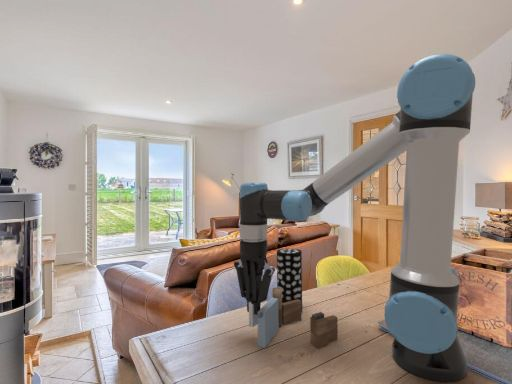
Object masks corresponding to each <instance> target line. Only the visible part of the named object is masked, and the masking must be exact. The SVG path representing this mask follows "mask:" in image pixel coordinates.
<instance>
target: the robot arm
mask: <svg viewBox="0 0 512 384" xmlns="http://www.w3.org/2000/svg"><path fill="white" fill-rule="evenodd" d="M475 87H476V75H475V73H474V72H473V70H472V67H471V66H470V64H469V63H468V62H467V61H466V60H464V58H462V57H460V56H458V55H455V54H450V53H438V54H437V53H436V54H432V55H428V56H426V57H423V58H421V59H419V60H417V61H415V63H413V64H412V65H411V66H410V67H409V68H407V70H405V72H404V73H403V75H402V76H401V77H400V80H399V83H398V86H397V92H396V98H397V103H398V105H399V107H400V111H398V112H397V113H396V114H394V115H393V118H392V120H391V121H392V122H390V123H389V124H388V125H387V126H385V127H383V129H381V130H380V131H379V132H377V133H376V134H375V135H374V136H372V137H370V138H369V139H368V140H366V141H365V142H364V143H362V144H361V145H360V146H359V147H357V148H356V149H355V150H353V151H352V152H351V153H349V154H348V155H346V156H345V157H344V158H343V159H341V160H339V162H337V163H336V164H335V165H333V166H332V167H331V168H330V169H328V170H326V172H324V173H322V175H320V176H319V177H318V178H316V179H315V180H314V181H312V183H309V184H308V185H307V186H306V187H305V188H303V189H290V190H289V189H286V190H285V189H284V190H282V189H281V190H280V189H278V190H277V189H276V190H272V189H269V188H268V183H266V182H243V183H241V184H240V187H239V198H238V200H239V216H240V217H239V218H240V219H239V238H240V240H239V253H240V255H241V256H240V259H239V260H237V261H234V262H233V266H234V268H235V270H236V274H237V280H238V281H237V282H238V287H239V293H240V297H242V298H244V299H245V300H246V311H247V313H248V326H249V327H251V328H254V327H255V326H258V311H259V310H260V309H261V308H262V307H261V303H263V302H265V301H268V295H269V291H270V287H271V281H272V277H273V274H274V273H275V271H276V268H275V267H271V266H270V265H269V264H268V259H267V255H268V240H267V238H268V219H269V220H270V219H271V220H272V219H273V220H279V221H280V220H281V221H290V222H304V221H307V220H308V219H309V217H313V216H316V215H317V214H320V213H321V212H323V211H324V210H325V208H326V206H328V205H329V204H331V203H332V202H333V201H335V200H336V199H338V198H339V197H341V196H342V195H344V194H345V193H347V192H349V191H350V190H351V189H353V188H354V187H355V186H357V185H358V184H360V183H361V182H363V181H364V180H366V179H367V178H369V177H371V176H372V175H373V174H374V173H376V172H378V171H379V170H380V169H382V168H383V167H385V166H386V165H388V164H389V163H390V162H392V161H393V160H395V159H397V158H398V157H399V156H401V155H402V154H404V153H405V152H406V155H405V157H406V158H405V169H404V171H405V172H404V173H405V174H404V188H403V189H404V191H403V202H402V203H403V204H402V205H403V206H402V221H401V239H400V252H399V253H400V254H399V263H397V264H396V265H394V266H393V267H392V268H391V269H390V270H391V271H390V280H389V281H390V284H389V297H388V300H387V301H386V303H385V306H384V315H383V316H384V321H385V325H386V327H387V329H388V331H389V333H390V334H391V335H392V337H394V339H393V341H392V346H391V351H392V352H391V355H392V358H393V360H394V361H395V363H396V364H397V365H398V366H400V367H401V368H403V369H404V370H405V371H407V372H410V374H413V375H415V376H417V377H421V378H423V379H426V380H427V379H428V380H432V381H436V382H446V383H447V382H456V381H460V380H462V379H464V378H465V377H466V376H467V373H468V372H467V370H468V367H467V366H468V365H467V359H466V356H465V353H464V350H463V348H462V344H461V342H460V339H459V337H458V334H459V333H458V332H459V324H458V312H459V311H458V310H459V309H458V308H459V296H460V295H459V294H460V279H459V278H458V276H457V271H456V269H455V268H454V267H452V266H451V265H452V250H453V240H454V239H453V237H454V224H455V223H454V222H455V209H456V208H455V207H456V193H457V180H458V178H457V177H458V165H459V163H458V162H459V150H460V149H459V148H460V142H461V141H462V140H463V139H465V138H466V137H467V135H469V134H470V132H471V124H472V123H471V122H472V121H471V120H472V108H473V95H474V94H473V93H474V91H475Z"/></svg>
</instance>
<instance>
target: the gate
mask: <svg viewBox="0 0 512 384" xmlns="http://www.w3.org/2000/svg"><path fill="white" fill-rule="evenodd" d="M279 329H280V328H279V316H278V298H273V297H271V298H270V299H269V300H267V302H266V303H265V304H264V305H263V306H262V307H261V309H260V310H259V311H258V324H257V347H259V348H264V349H266V348H267V346H268V345H269V344H270V342H271V340H272V339H273V338H274V336H276V334H277V332H278V331H279Z"/></svg>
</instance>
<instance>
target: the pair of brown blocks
mask: <svg viewBox="0 0 512 384" xmlns="http://www.w3.org/2000/svg"><path fill="white" fill-rule="evenodd" d="M272 298H278V316H279V329H280V328H282V327H283V326H286V325H289V324H293V323H296V322H300V321H302V312H301V300H299V299H296V300H293V301H289V302H285V303H282V289H281V288H277V287H273V288H272ZM309 319H310V321H309V323H310V344H311V345H312V346H314V347H316V348H317V349H321V348H323V347H327V346H328V344H329V343H331V342H334V341H337V340H338V339H339V338H338V337H339V335H338V327H339V326H338V325H339V324H338V317H337V316H336V315H334V314H332V315H329V316H326V317H325V313H323V312H321V311H319V312H316V313H314V314H311V316H310V317H309Z"/></svg>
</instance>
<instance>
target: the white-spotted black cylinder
mask: <svg viewBox="0 0 512 384" xmlns="http://www.w3.org/2000/svg"><path fill="white" fill-rule="evenodd" d="M302 255H303V251H302V250H301V249H298V248H279V249H277V250H276V285H277V286H276V288H281V289H282V303H285V302H289V301H293V300H296V299H299V300H301V313H303V265H302V264H303V256H302Z"/></svg>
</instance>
